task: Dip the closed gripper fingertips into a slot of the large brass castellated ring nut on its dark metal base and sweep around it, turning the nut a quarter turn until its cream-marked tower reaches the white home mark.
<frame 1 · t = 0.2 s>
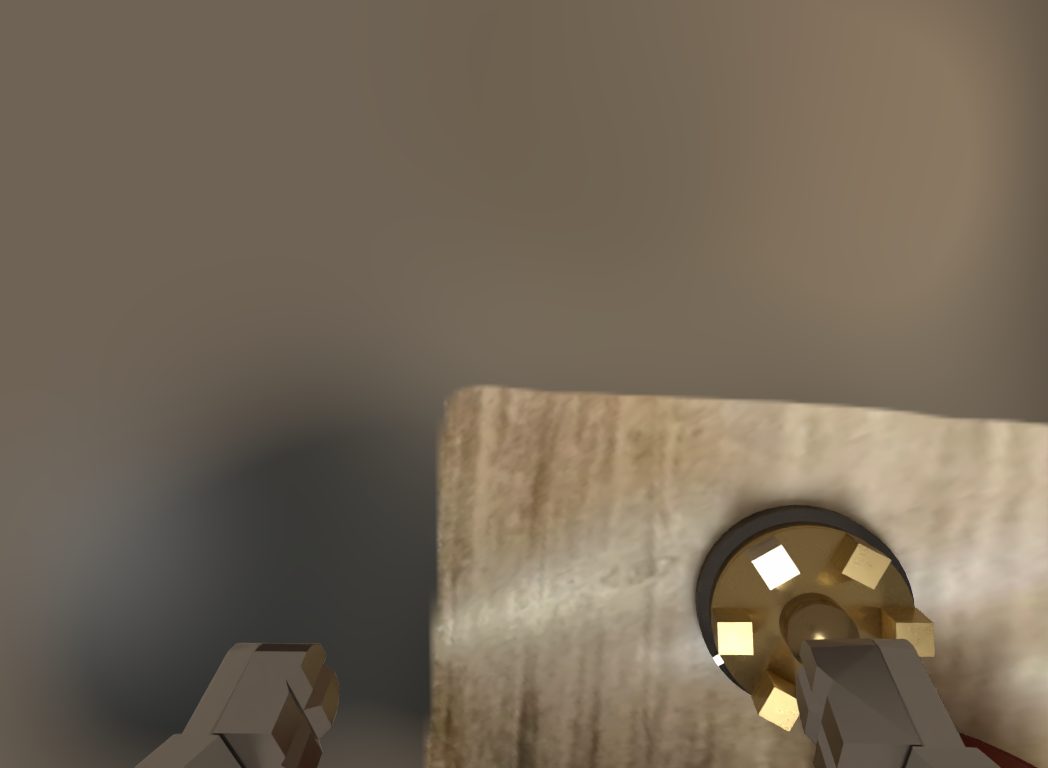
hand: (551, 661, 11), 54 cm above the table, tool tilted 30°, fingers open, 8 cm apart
ring nut: (813, 625, 57), point 5 cm above the table, hinge at 0.0°
nut base: (797, 603, 62), on the table
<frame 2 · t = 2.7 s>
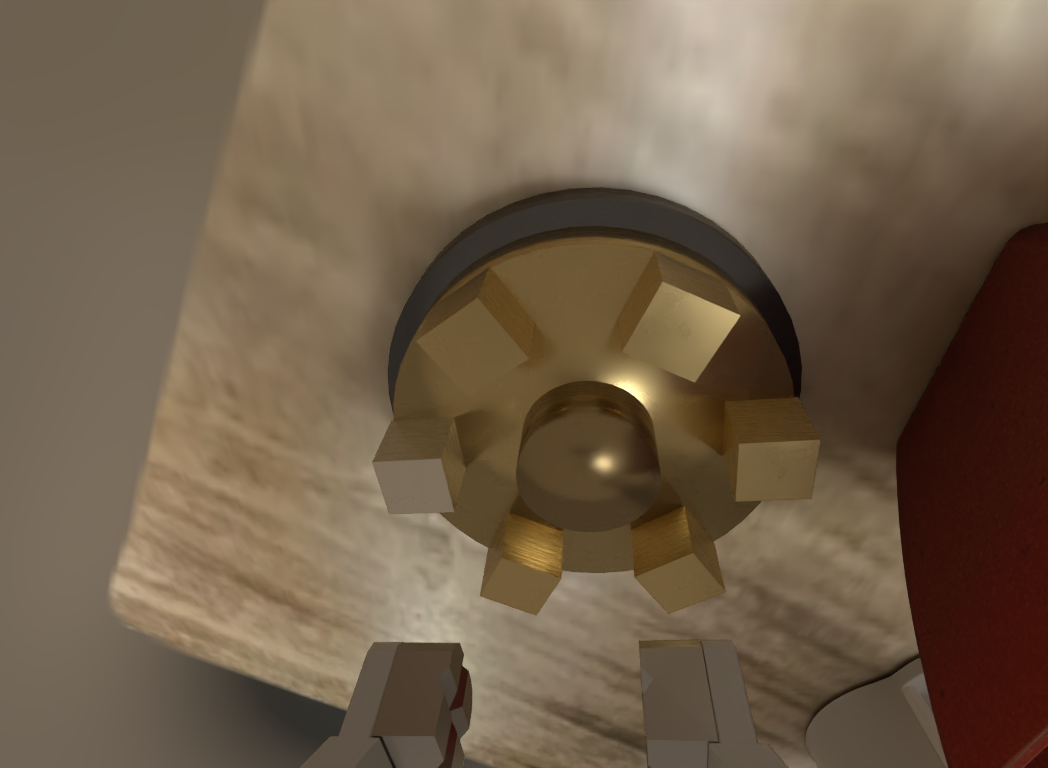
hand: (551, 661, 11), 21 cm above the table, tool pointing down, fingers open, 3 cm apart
ring nut: (587, 440, 28), point 5 cm above the table, hinge at 0.0°
nut base: (587, 382, 32), on the table
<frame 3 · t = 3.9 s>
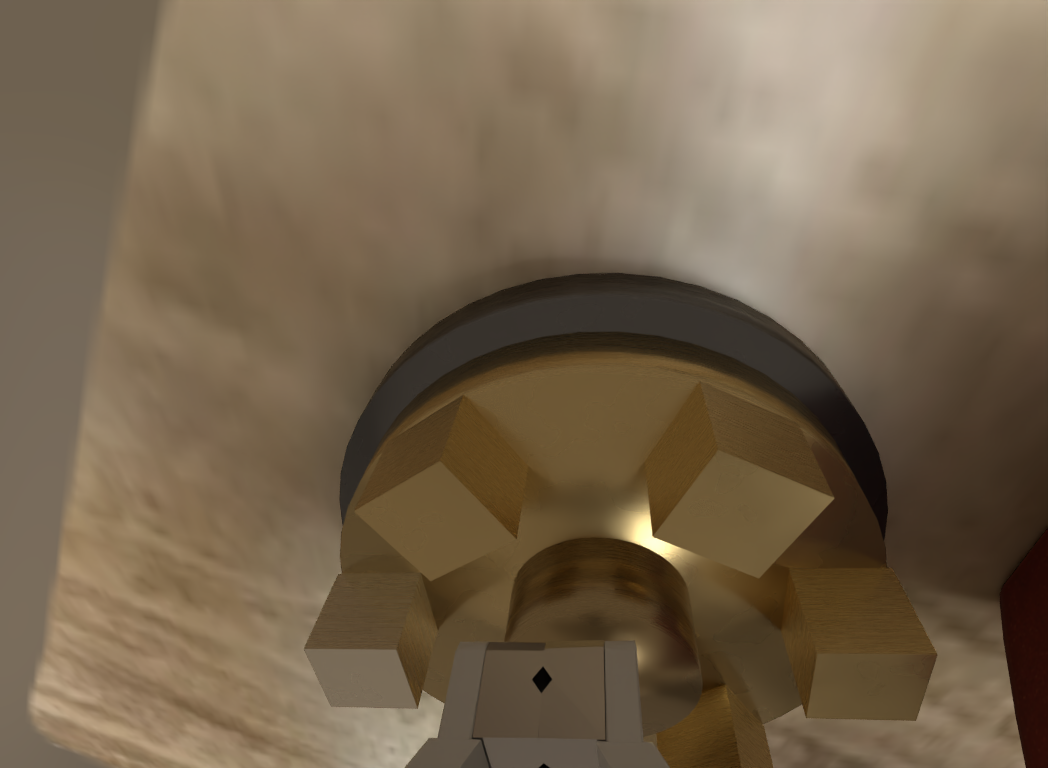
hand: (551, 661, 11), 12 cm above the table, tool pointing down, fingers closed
ring nut: (599, 607, 21), point 5 cm above the table, hinge at 0.0°
nut base: (599, 507, 25), on the table
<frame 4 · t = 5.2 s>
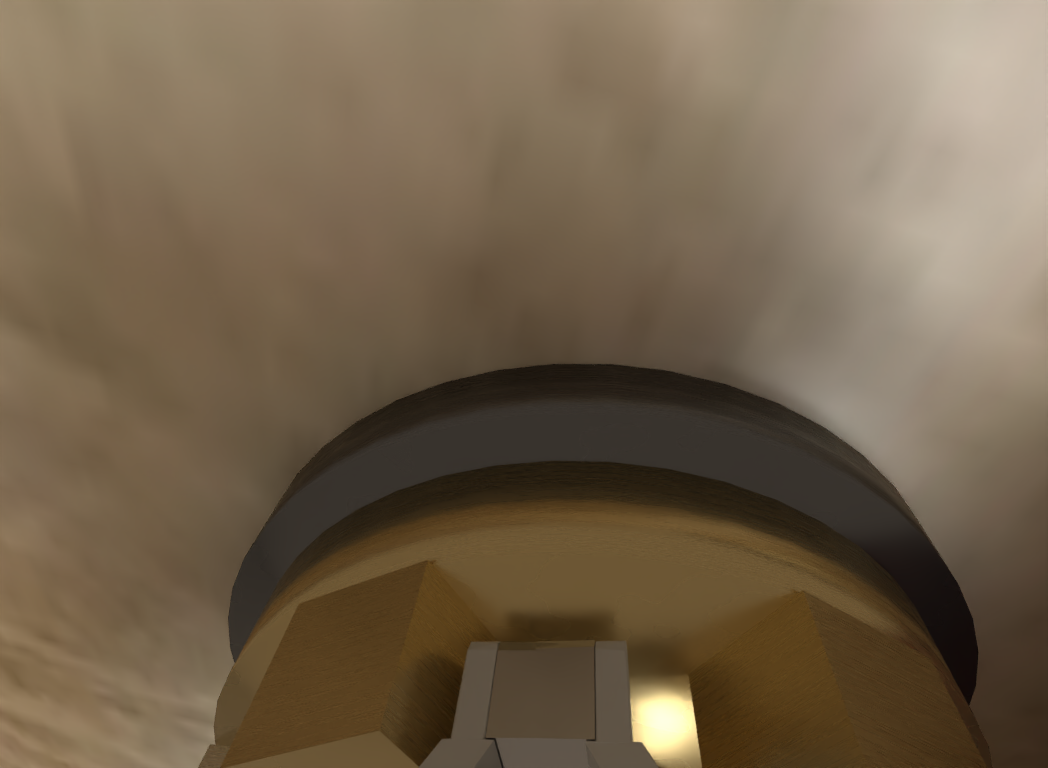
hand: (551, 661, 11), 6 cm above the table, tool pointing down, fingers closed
nut base: (581, 644, 19), on the table
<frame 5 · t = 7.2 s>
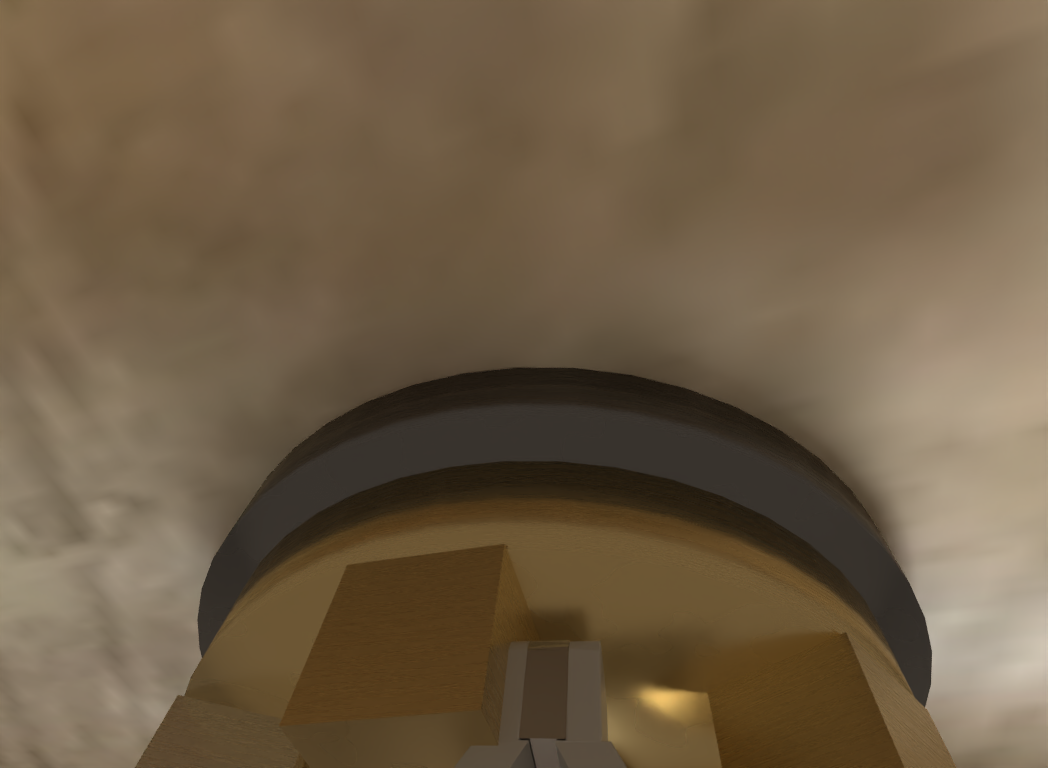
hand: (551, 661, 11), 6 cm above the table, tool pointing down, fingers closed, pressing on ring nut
nut base: (550, 647, 19), on the table
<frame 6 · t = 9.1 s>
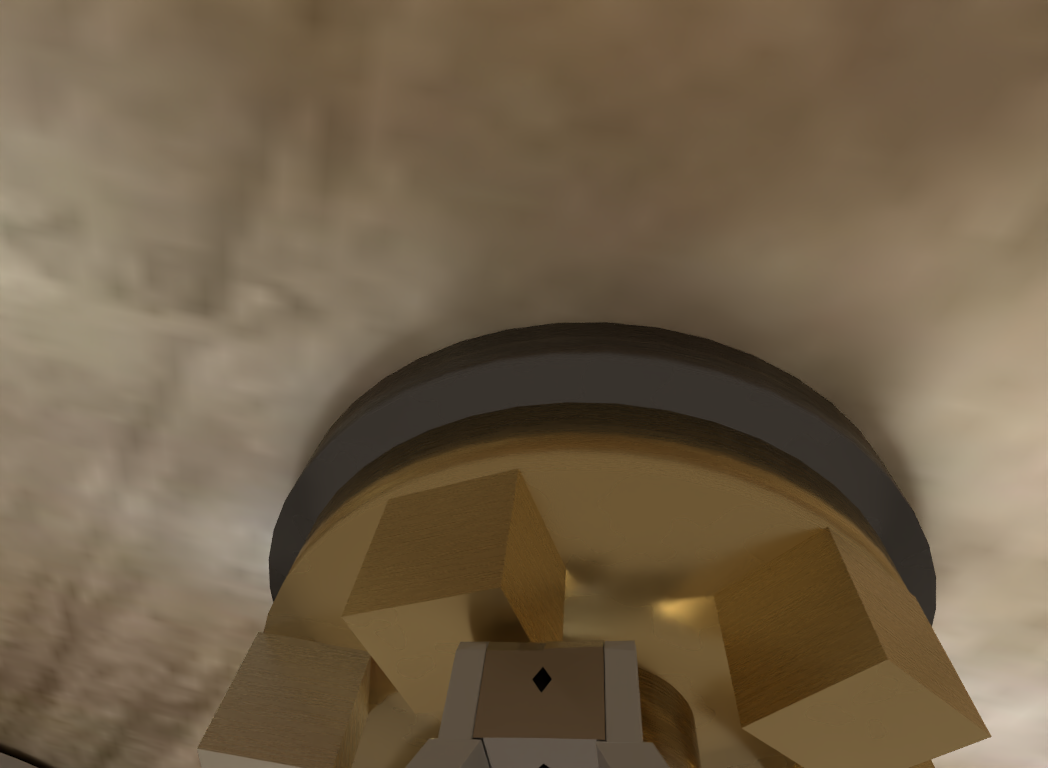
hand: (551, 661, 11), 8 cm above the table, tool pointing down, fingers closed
ring nut: (583, 733, 17), point 5 cm above the table, hinge at 80.9°
nut base: (584, 587, 21), on the table
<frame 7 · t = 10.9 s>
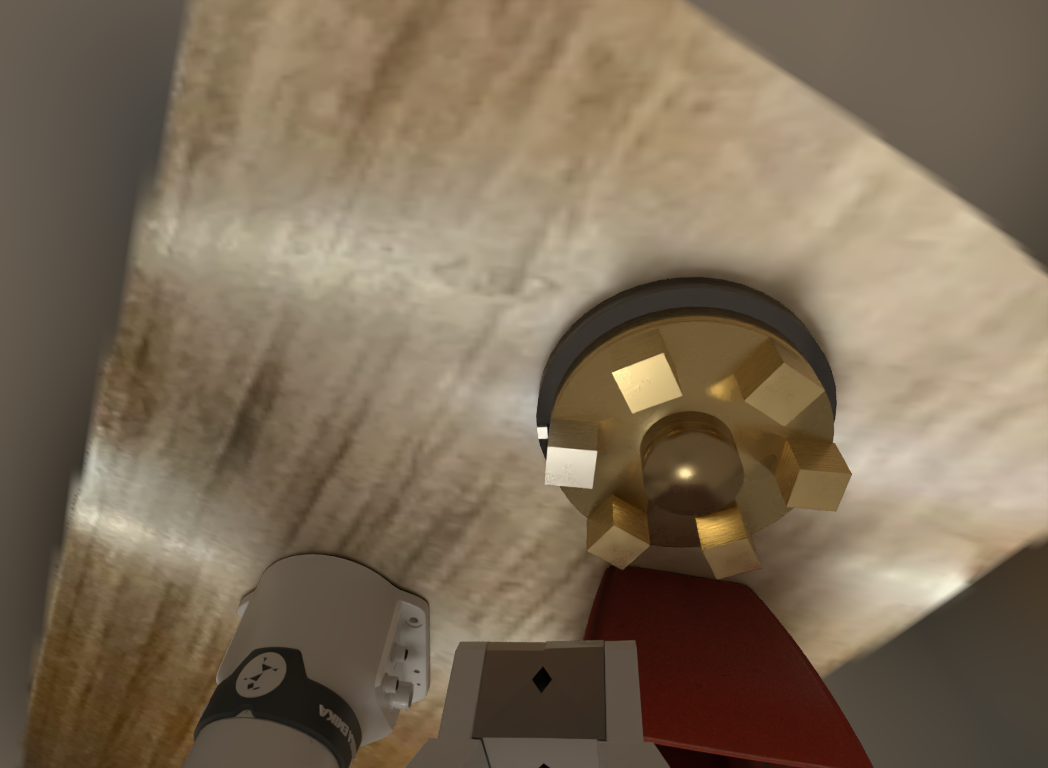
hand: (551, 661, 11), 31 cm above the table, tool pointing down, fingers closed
plant pot: (662, 616, 57), on the table
ring nut: (687, 451, 40), point 5 cm above the table, hinge at 80.9°
nut base: (677, 408, 44), on the table
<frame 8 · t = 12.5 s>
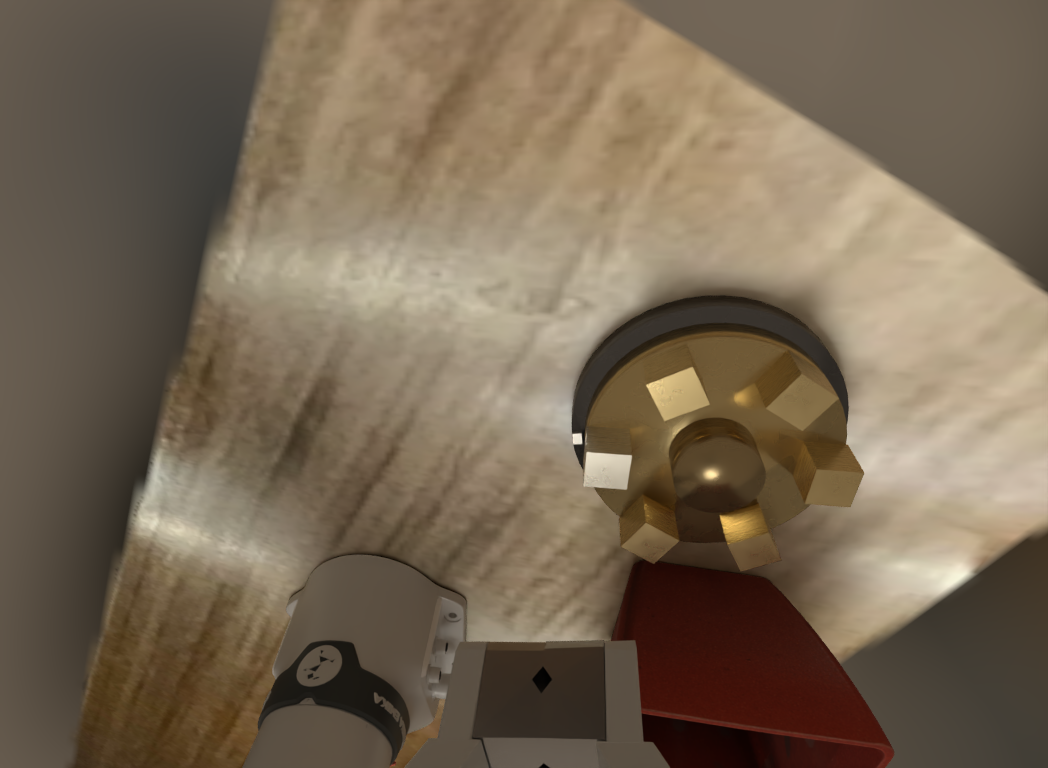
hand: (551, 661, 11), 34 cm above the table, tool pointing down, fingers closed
plant pot: (686, 608, 60), on the table
ring nut: (712, 454, 44), point 5 cm above the table, hinge at 80.9°
nut base: (701, 414, 48), on the table
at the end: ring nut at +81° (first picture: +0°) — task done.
